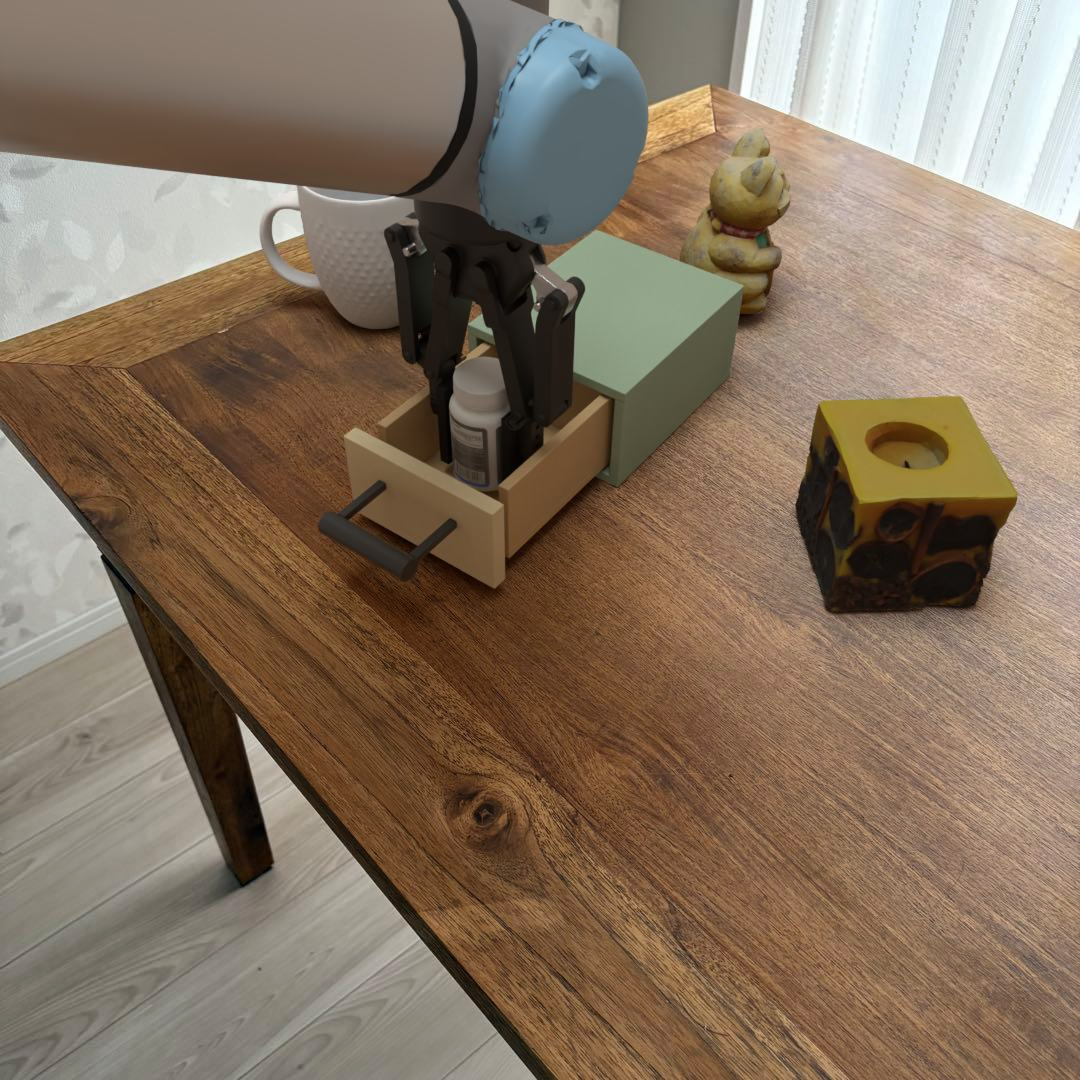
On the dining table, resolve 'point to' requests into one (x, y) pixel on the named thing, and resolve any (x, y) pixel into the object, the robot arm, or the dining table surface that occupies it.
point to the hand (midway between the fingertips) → (487, 467)
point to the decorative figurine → (742, 221)
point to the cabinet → (643, 339)
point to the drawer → (463, 487)
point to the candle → (901, 503)
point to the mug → (343, 250)
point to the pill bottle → (478, 422)
